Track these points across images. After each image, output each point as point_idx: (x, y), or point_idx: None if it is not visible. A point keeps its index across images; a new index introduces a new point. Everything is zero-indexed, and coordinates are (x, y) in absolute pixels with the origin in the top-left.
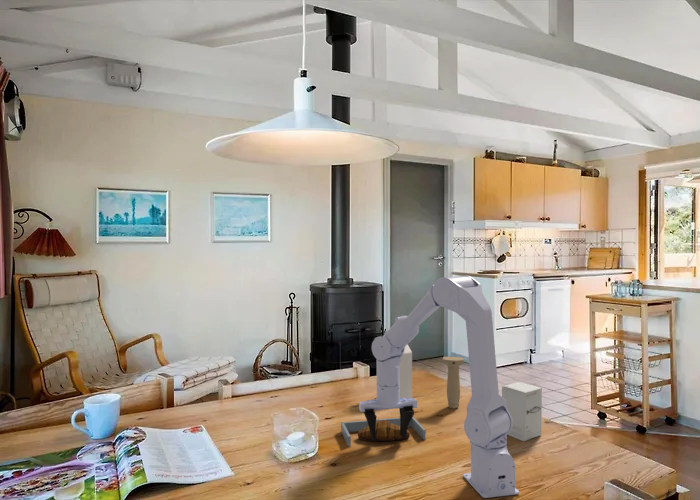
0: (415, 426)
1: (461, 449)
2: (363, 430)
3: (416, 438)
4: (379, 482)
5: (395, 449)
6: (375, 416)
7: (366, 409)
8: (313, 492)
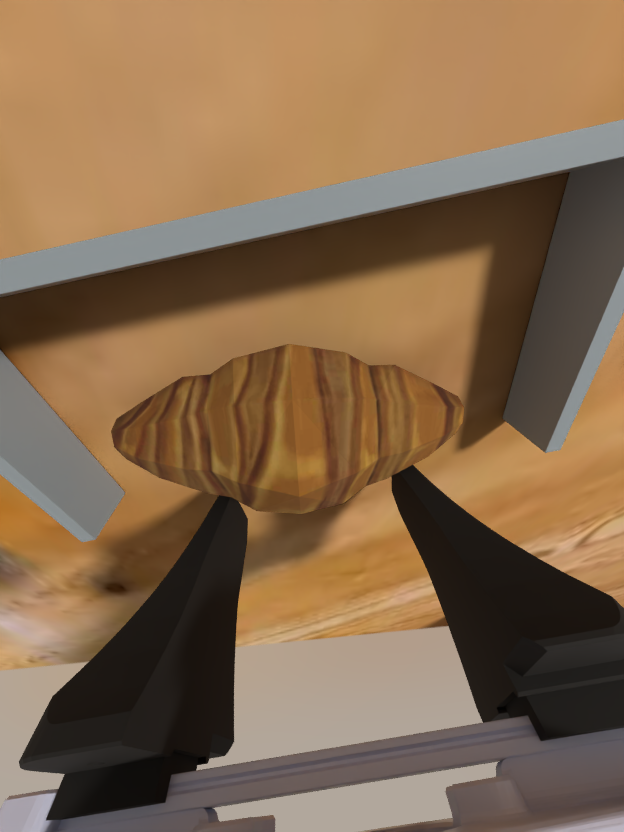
0: (569, 286)
1: (588, 489)
2: (148, 466)
3: (477, 402)
4: (270, 623)
5: None
6: (224, 742)
7: (106, 814)
8: None
